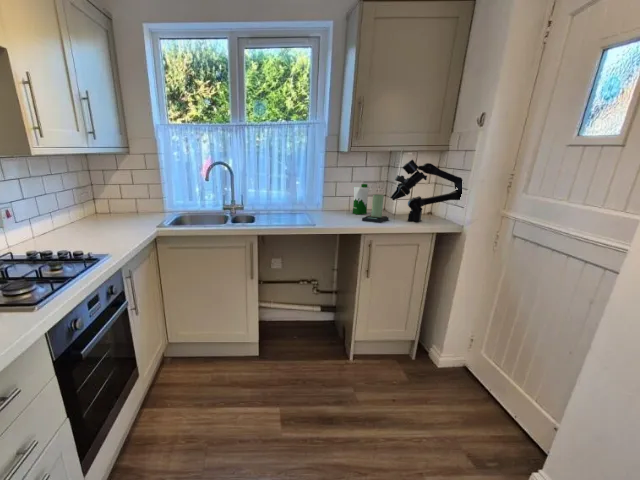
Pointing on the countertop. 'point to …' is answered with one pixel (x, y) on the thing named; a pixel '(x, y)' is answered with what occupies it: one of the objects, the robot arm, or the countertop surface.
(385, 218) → the scale
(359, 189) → the milk carton
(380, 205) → the tumbler
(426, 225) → the countertop surface
